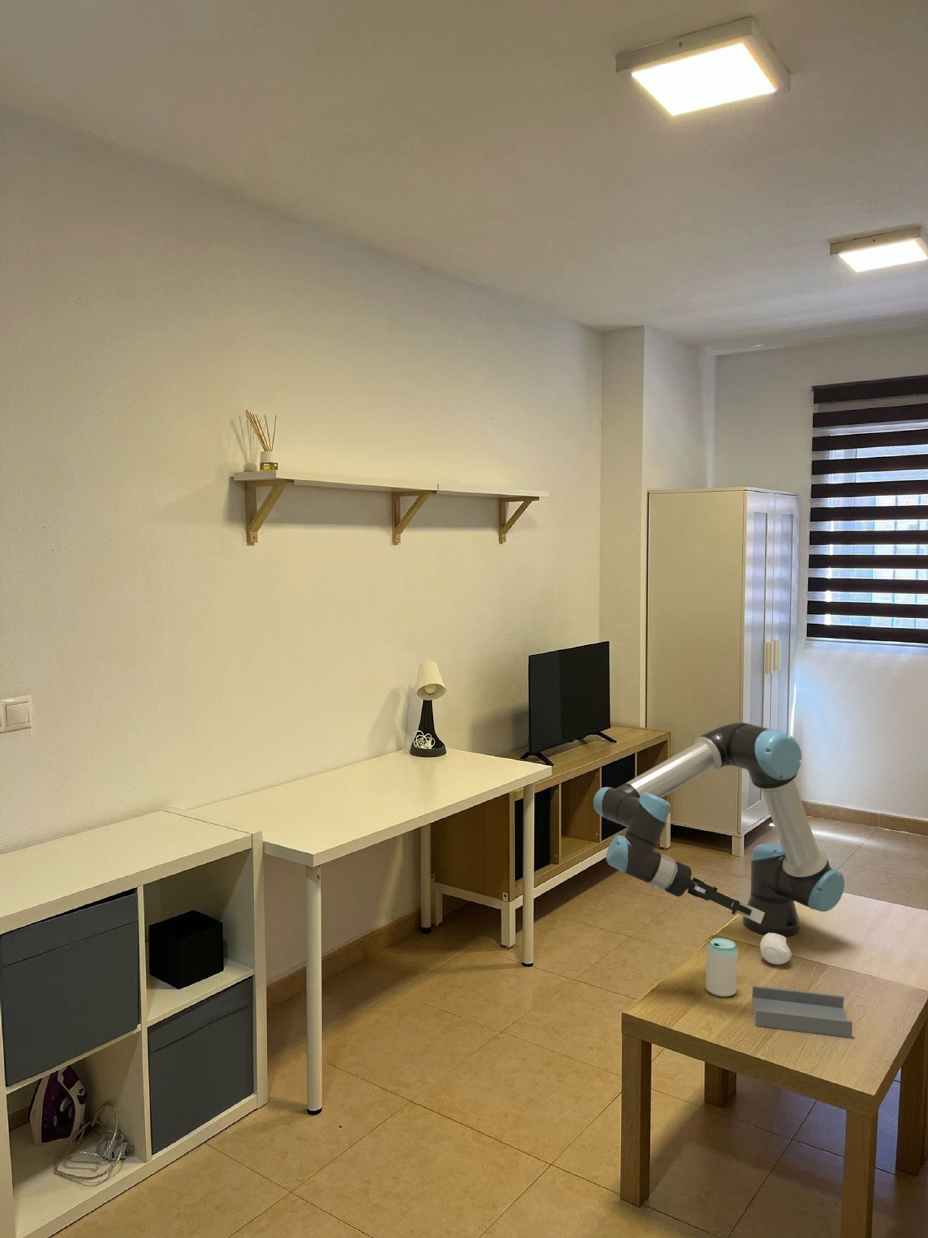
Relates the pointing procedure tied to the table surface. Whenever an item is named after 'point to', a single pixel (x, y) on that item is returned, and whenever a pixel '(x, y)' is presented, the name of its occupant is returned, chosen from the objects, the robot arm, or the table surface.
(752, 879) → the robot arm
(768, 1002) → the duct channel
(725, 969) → the can
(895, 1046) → the table surface
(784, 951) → the cream rounded lump
